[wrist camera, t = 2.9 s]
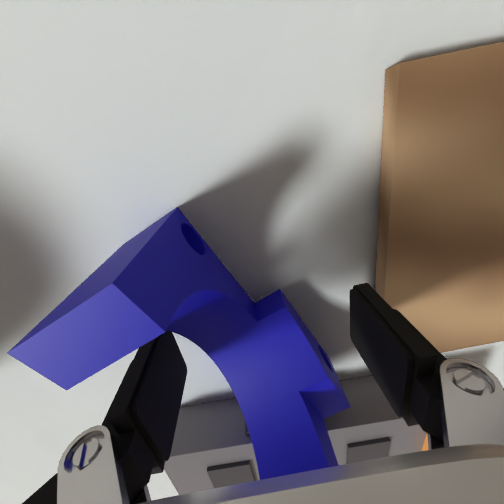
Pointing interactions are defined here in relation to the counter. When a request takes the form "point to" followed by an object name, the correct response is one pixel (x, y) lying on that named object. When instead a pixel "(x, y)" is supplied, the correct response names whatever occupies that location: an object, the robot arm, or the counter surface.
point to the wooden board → (444, 196)
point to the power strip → (241, 449)
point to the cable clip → (199, 340)
